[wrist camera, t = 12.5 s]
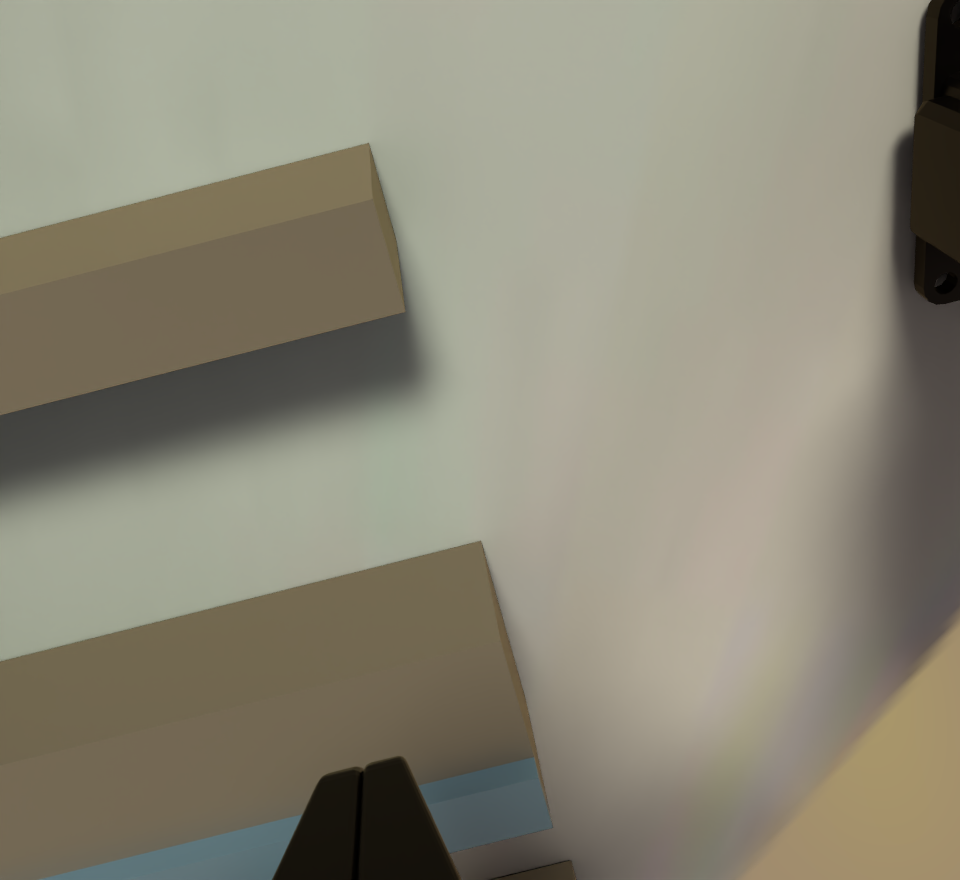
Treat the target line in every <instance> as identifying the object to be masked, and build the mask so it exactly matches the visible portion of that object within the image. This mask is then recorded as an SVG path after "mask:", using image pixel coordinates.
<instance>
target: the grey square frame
mask: <svg viewBox="0 0 960 880" xmlns="http://www.w3.org/2000/svg"><path fill="white" fill-rule="evenodd" d="M403 312H405V305H404V297H403V289H402V281H401V273H400V265H399V258H398V250H397V242H396V238H395V234H394V231H393V227H392V224H391V220H390V217H389V213H388V210H387V206H386V203H385V199H384V195H383V192H382V188H381V185H380V181H379V178H378V174H377V171H376V167H375V164H374V160H373V156H372V153H371V149H370V146H369V143H367V144H363V145H359V146H356V147H352V148H348V149H344V150H340V151H336V152H332V153H328V154H325V155H321V156H317V157H313V158H309V159H305V160H301V161H297V162H293V163H290V164H286V165H282V166H278V167H274V168H270V169H266V170H262V171H259V172H255V173H251V174H247V175H243V176H239V177H235V178H231V179H228V180H224V181H220V182H216V183H212V184H208V185H204V186H200V187H197V188H193V189H189V190H185V191H181V192H177V193H173V194H169V195H165V196H162V197H158V198H154V199H150V200H146V201H142V202H138V203H134V204H131V205H127V206H123V207H119V208H115V209H111V210H107V211H103V212H100V213H96V214H92V215H88V216H84V217H80V218H76V219H72V220H68V221H65V222H61V223H57V224H53V225H49V226H45V227H41V228H37V229H34V230H30V231H26V232H22V233H18V234H14V235H10V236H6V237H3V238H0V415H3V414H7V413H11V412H15V411H19V410H23V409H27V408H31V407H34V406H38V405H42V404H46V403H50V402H54V401H58V400H62V399H66V398H70V397H74V396H78V395H82V394H85V393H89V392H93V391H97V390H101V389H105V388H109V387H113V386H117V385H121V384H125V383H129V382H133V381H136V380H140V379H144V378H148V377H152V376H156V375H160V374H164V373H168V372H172V371H176V370H180V369H184V368H187V367H191V366H195V365H199V364H203V363H207V362H211V361H215V360H219V359H223V358H227V357H231V356H234V355H238V354H242V353H246V352H250V351H254V350H258V349H262V348H266V347H270V346H274V345H278V344H282V343H285V342H289V341H293V340H297V339H301V338H305V337H309V336H313V335H317V334H321V333H325V332H329V331H333V330H336V329H340V328H344V327H348V326H352V325H356V324H360V323H364V322H368V321H372V320H376V319H380V318H384V317H387V316H391V315H395V314H399V313H403ZM394 756H403V757H404V758H405V759H406V760H407V762H408V765H409V767H410V769H411V771H412V773H413V775H414V778H415V780H416V782H417V784H418V786H419V788H420V791H421V793H422V795H423V797H424V799H425V801H426V804H427V806H428V808H429V810H430V812H431V814H432V817H433V819H434V821H435V823H436V825H437V828H438V830H439V832H440V834H441V836H442V838H443V841H444V843H445V845H446V847H447V849H448V851H449V853H453V852H457V851H461V850H465V849H469V848H473V847H477V846H482V845H486V844H490V843H494V842H498V841H502V840H506V839H510V838H514V837H518V836H522V835H526V834H530V833H534V832H538V831H542V830H546V829H551V828H553V825H552V821H551V816H550V811H549V806H548V802H547V797H546V792H545V788H544V783H543V778H542V774H541V769H540V764H539V760H538V755H537V750H536V745H535V741H534V736H533V731H532V727H531V722H530V717H529V713H528V708H527V703H526V699H525V695H524V692H523V688H522V685H521V681H520V678H519V674H518V671H517V667H516V664H515V660H514V656H513V653H512V649H511V646H510V642H509V639H508V635H507V632H506V628H505V625H504V621H503V617H502V614H501V610H500V607H499V603H498V600H497V596H496V593H495V589H494V586H493V582H492V578H491V575H490V571H489V568H488V564H487V561H486V557H485V554H484V550H483V547H482V543H481V541H479V542H475V543H471V544H467V545H463V546H459V547H455V548H451V549H447V550H443V551H439V552H435V553H431V554H427V555H423V556H419V557H415V558H411V559H407V560H403V561H399V562H395V563H391V564H387V565H383V566H379V567H375V568H371V569H367V570H363V571H359V572H355V573H351V574H347V575H343V576H339V577H335V578H331V579H327V580H323V581H319V582H315V583H311V584H307V585H304V586H300V587H296V588H292V589H288V590H284V591H280V592H276V593H272V594H268V595H264V596H260V597H256V598H252V599H248V600H244V601H240V602H236V603H232V604H228V605H224V606H220V607H216V608H212V609H208V610H204V611H200V612H196V613H192V614H188V615H184V616H180V617H176V618H172V619H168V620H164V621H160V622H156V623H152V624H148V625H144V626H140V627H136V628H132V629H128V630H124V631H120V632H116V633H112V634H108V635H104V636H100V637H96V638H92V639H88V640H84V641H80V642H76V643H72V644H69V645H65V646H61V647H57V648H53V649H49V650H45V651H41V652H37V653H33V654H29V655H25V656H21V657H17V658H13V659H9V660H5V661H1V662H0V880H272V878H273V876H274V874H275V872H276V870H277V868H278V866H279V863H280V861H281V859H282V857H283V855H284V853H285V851H286V849H287V846H288V844H289V842H290V840H291V838H292V836H293V834H294V831H295V829H296V827H297V825H298V823H299V821H300V819H301V816H302V814H303V812H304V810H305V808H306V806H307V804H308V801H309V799H310V797H311V795H312V793H313V791H314V789H315V787H316V784H317V783H318V781H319V780H320V778H321V777H322V776H324V775H325V774H327V773H330V772H334V771H338V770H342V769H346V768H350V767H354V766H359V767H362V768H363V769H364V768H365V766H366V765H367V764H369V763H371V762H374V761H378V760H382V759H386V758H390V757H394ZM494 880H576V876H575V873H574V869H573V866H572V862H571V861H567V862H563V863H559V864H555V865H551V866H547V867H542V868H538V869H534V870H530V871H526V872H522V873H518V874H514V875H510V876H506V877H502V878H498V879H494Z"/></svg>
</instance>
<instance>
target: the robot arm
mask: <svg viewBox="0 0 960 880" xmlns="http://www.w3.org/2000/svg"><path fill="white" fill-rule="evenodd" d="M958 1H959V0H931V2H930V3H929V6H928V10H927V15H926V32H925V54H924V76H923V97H922V105H921V106H920V108H919V110H918V111H917V113H916V115H915V121H914V145H913V169H912V193H911V217H910V229H911V231H912V232H913V233H915V234H916V250H915V272H914V285H915V290H916V291H917V292H918V293H919V294H920V295H921V296H922V297H923V298H925V299H926V300H927V301H929V302H931V303H934V304H936V305H937V304H947V303H951V302H955V301H958V300H960V19H959V20H958V21H956V22H955V23H953V24H952V21H951V12H952V9H953V7H954V6H955V4H956V3H957V2H958ZM947 272H948V274H947V277H946V280H945V281H944V282H943V283H942V284H941V285H939V286H937V287H935V283H936V280H937V279H938V278H939V277H940V276H941V275H943V274H945V273H947ZM272 880H461V877H460V875H459V873H458V871H457V869H456V867H455V864H454V862H453V860H452V858H451V856H450V854H449V851H448V849H447V847H446V845H445V843H444V841H443V838H442V836H441V834H440V832H439V830H438V828H437V825H436V823H435V821H434V819H433V817H432V814H431V812H430V810H429V808H428V806H427V804H426V801H425V799H424V797H423V795H422V793H421V791H420V788H419V786H418V784H417V782H416V780H415V778H414V775H413V773H412V771H411V769H410V767H409V765H408V762H407V760H406V759H405V758H404V757H403V756H394V757H390V758H386V759H382V760H378V761H374V762H371V763H369V764H367V765H366V766H365V768H364V769H363V768H362V767H359V766H354V767H350V768H346V769H342V770H338V771H334V772H330V773H327V774H325V775H324V776H322V777H321V778H320V780H319V781H318V783H317V784H316V787H315V789H314V791H313V793H312V795H311V797H310V799H309V801H308V804H307V806H306V808H305V810H304V812H303V814H302V816H301V819H300V821H299V823H298V825H297V827H296V829H295V831H294V834H293V836H292V838H291V840H290V842H289V844H288V846H287V849H286V851H285V853H284V855H283V857H282V859H281V861H280V863H279V866H278V868H277V870H276V872H275V874H274V876H273V878H272Z"/></svg>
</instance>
